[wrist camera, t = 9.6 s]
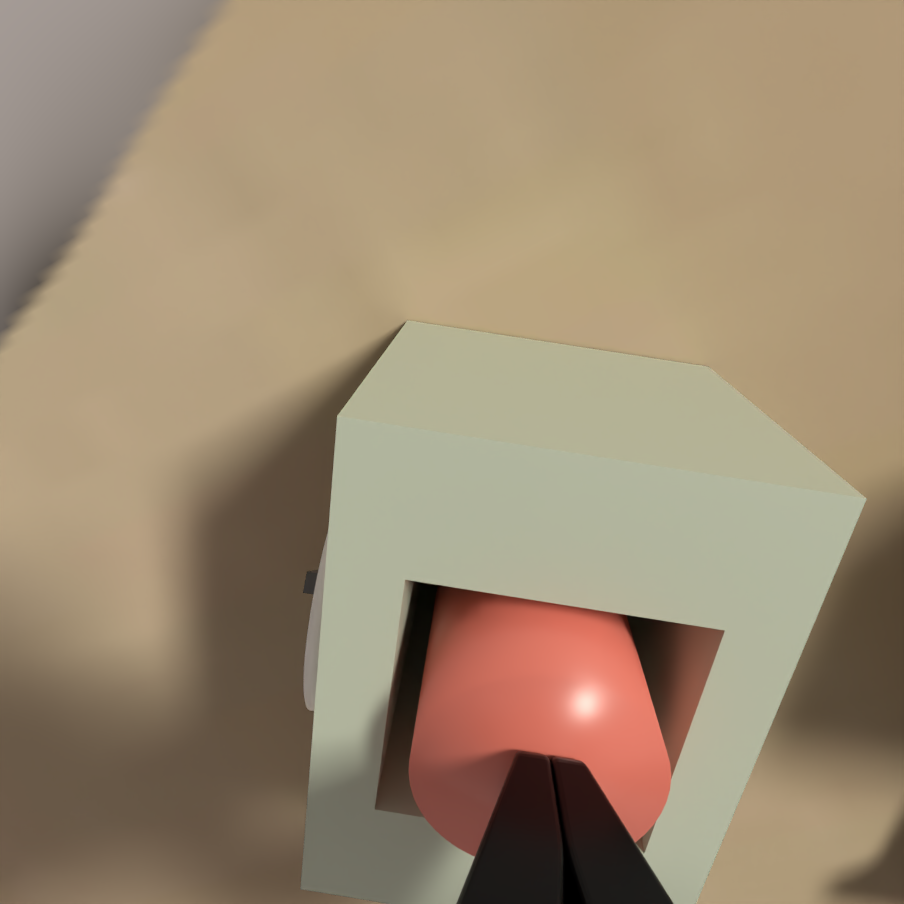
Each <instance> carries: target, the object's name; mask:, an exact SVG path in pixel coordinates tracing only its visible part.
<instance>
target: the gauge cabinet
mask: <svg viewBox="0 0 904 904" xmlns="http://www.w3.org/2000/svg"><path fill="white" fill-rule="evenodd" d="M866 499H867V498H865V497H864V496H863V495H862V494H861V493H859V492H858V491H857V490H856V489H855V488H853V487H852V486H851V485H850V484H849V483H847V482H846V481H845V480H844V479H843V478H841V477H840V476H839V475H838V474H837V473H835V472H834V471H833V470H832V469H831V468H829V467H828V466H827V465H826V464H825V463H823V462H822V461H821V460H820V459H819V458H817V457H816V456H815V455H814V454H813V453H811V452H810V451H809V450H808V449H807V448H805V447H804V446H803V445H802V444H801V443H799V442H798V441H797V440H796V439H795V438H793V437H792V436H791V435H790V434H789V433H787V432H786V431H785V430H784V429H783V428H781V427H780V426H779V425H778V424H777V423H775V422H774V421H773V420H772V419H771V418H769V417H768V416H767V415H766V414H765V413H763V412H762V411H761V410H760V409H759V408H757V407H756V406H755V405H754V404H753V403H751V402H750V401H749V400H748V399H747V398H745V397H744V396H743V395H742V394H741V393H739V392H738V391H737V390H736V389H735V388H733V387H732V386H731V385H730V384H729V383H727V382H726V381H725V380H724V379H723V378H721V377H720V376H719V375H718V374H717V373H715V372H714V371H713V370H712V369H711V368H709V367H708V366H701V365H695V364H688V363H682V362H675V361H669V360H662V359H656V358H649V357H643V356H636V355H630V354H623V353H617V352H610V351H604V350H597V349H591V348H584V347H578V346H571V345H565V344H558V343H552V342H545V341H539V340H532V339H526V338H519V337H513V336H506V335H500V334H493V333H487V332H480V331H474V330H467V329H461V328H454V327H448V326H441V325H435V324H428V323H422V322H415V321H409V320H407V322H406V323H405V325H404V326H403V327H402V329H401V330H400V331H399V333H398V334H397V335H396V337H395V338H394V340H393V341H392V342H391V344H390V345H389V346H388V348H387V349H386V350H385V352H384V353H383V354H382V356H381V357H380V359H379V360H378V361H377V363H376V364H375V365H374V367H373V368H372V369H371V371H370V372H369V374H368V375H367V376H366V378H365V379H364V380H363V382H362V383H361V384H360V386H359V387H358V388H357V390H356V391H355V393H354V394H353V395H352V397H351V398H350V399H349V401H348V402H347V403H346V405H345V406H344V408H343V409H342V410H341V412H340V413H339V414H338V416H337V425H336V438H335V451H334V464H333V476H332V489H331V502H330V515H329V528H328V533H327V536H326V540H325V544H324V548H323V552H322V556H321V561H320V565H319V569H318V570H313V571H308V572H307V574H306V580H305V585H304V591H303V593H308V594H314V595H313V600H312V606H311V612H310V619H309V625H308V632H307V641H306V650H305V661H304V699H305V704H306V707H307V709H308V710H310V711H314V721H313V734H312V747H311V760H310V772H309V785H308V798H307V811H306V824H305V837H304V850H303V863H302V875H301V888H300V889H302V890H308V891H314V892H320V893H326V894H332V895H338V896H344V897H351V898H357V899H363V900H369V901H375V902H381V903H387V904H456V903H457V901H458V898H459V896H460V893H461V890H462V888H463V885H464V883H465V880H466V878H467V875H468V873H469V870H470V868H471V865H472V863H473V860H474V858H475V857H474V856H472V855H470V854H468V853H466V852H464V851H462V850H461V849H459V848H457V847H456V846H454V845H453V844H451V843H450V842H449V841H447V840H446V839H445V838H443V837H442V836H441V835H440V834H439V833H438V832H437V831H436V830H435V829H434V828H433V827H432V826H431V825H430V824H429V823H428V821H427V820H426V819H425V817H424V816H423V814H422V813H421V811H420V810H419V808H418V806H417V804H416V802H415V799H414V797H413V794H412V790H411V787H410V781H409V759H410V753H411V746H412V740H413V734H414V728H415V722H416V715H417V709H418V703H419V697H420V691H421V685H422V678H423V672H424V666H425V660H426V654H427V647H428V641H429V635H430V629H431V623H432V616H433V610H434V604H435V598H436V592H437V586H434V585H428V584H421V582H423V583H429V584H435V585H442V586H448V587H454V588H461V589H467V590H473V591H480V592H486V593H492V594H498V595H505V596H511V597H517V598H524V599H530V600H536V601H542V602H549V603H555V604H561V605H568V606H574V607H580V608H587V609H593V610H599V611H605V612H612V613H618V614H624V615H626V616H627V619H628V622H629V626H630V629H631V632H632V636H633V639H634V642H635V646H636V649H637V653H638V656H639V659H640V663H641V666H642V669H643V673H644V676H645V679H646V683H647V686H648V689H649V693H650V696H651V700H652V703H653V706H654V710H655V713H656V716H657V720H658V723H659V726H660V730H661V733H662V737H663V740H664V743H665V747H666V750H667V754H668V757H669V761H670V767H671V785H670V791H669V795H668V799H667V802H666V804H665V806H664V809H663V811H662V813H661V815H660V816H659V818H658V819H657V821H656V822H655V824H654V825H653V826H652V827H651V828H650V829H649V830H648V831H647V833H646V834H645V835H644V836H642V837H641V838H640V839H639V840H638V841H636V842H635V843H636V845H637V846H638V848H639V849H640V851H641V853H642V854H643V856H644V857H645V859H646V860H647V862H648V864H649V865H650V867H651V868H652V870H653V872H654V873H655V875H656V876H657V878H658V880H659V881H660V883H661V884H662V886H663V887H664V889H665V891H666V892H667V894H668V895H669V897H670V899H671V900H672V902H673V903H674V904H696V902H697V900H698V898H699V895H700V893H701V891H702V888H703V886H704V883H705V881H706V879H707V876H708V874H709V872H710V869H711V867H712V864H713V862H714V860H715V857H716V855H717V853H718V850H719V848H720V845H721V843H722V841H723V838H724V836H725V834H726V831H727V829H728V827H729V824H730V822H731V819H732V817H733V815H734V812H735V810H736V808H737V805H738V803H739V800H740V798H741V796H742V793H743V791H744V789H745V786H746V784H747V781H748V779H749V777H750V774H751V772H752V770H753V767H754V765H755V762H756V760H757V758H758V755H759V753H760V751H761V748H762V746H763V743H764V741H765V739H766V736H767V734H768V732H769V729H770V727H771V725H772V722H773V720H774V717H775V715H776V713H777V710H778V708H779V706H780V703H781V701H782V698H783V696H784V694H785V691H786V689H787V687H788V684H789V682H790V679H791V677H792V675H793V672H794V670H795V668H796V665H797V663H798V660H799V658H800V656H801V653H802V651H803V649H804V646H805V644H806V642H807V639H808V637H809V634H810V632H811V630H812V627H813V625H814V623H815V620H816V618H817V615H818V613H819V611H820V608H821V606H822V604H823V601H824V599H825V596H826V594H827V592H828V589H829V587H830V585H831V582H832V580H833V577H834V575H835V573H836V570H837V568H838V566H839V563H840V561H841V558H842V556H843V554H844V551H845V549H846V547H847V544H848V542H849V540H850V537H851V535H852V532H853V530H854V528H855V525H856V523H857V521H858V518H859V516H860V513H861V511H862V509H863V506H864V504H865V502H866Z"/></svg>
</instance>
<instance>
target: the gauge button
mask: <svg viewBox="0 0 904 904" xmlns="http://www.w3.org/2000/svg"><path fill="white" fill-rule="evenodd" d="M519 751H525V752H532V753H538V754H544V755H546V756H547V757H548V758H549V759H551V758H553V757H562V758H569V759H575V760H580V761H582V762H584V763H585V764H586V765H587V767H588V768H589V770H590V771H591V773H592V775H593V776H594V778H595V779H596V781H597V783H598V784H599V786H600V787H601V789H602V790H603V792H604V794H605V795H606V797H607V798H608V800H609V802H610V803H611V805H612V806H613V808H614V810H615V811H616V813H617V814H618V816H619V818H620V819H621V821H622V822H623V824H624V825H625V827H626V829H627V830H628V832H629V833H630V835H631V837H632V838H633V840H634V841H635V842H636V841H638V840H639V839H640V838H641V837H642V836H644V835H645V834H646V833H647V831H648V830H649V829H650V828H651V827H652V826H653V825H654V824H655V822H656V821H657V819H658V818H659V816H660V815H661V813H662V811H663V809H664V806H665V804H666V802H667V799H668V795H669V791H670V785H671V767H670V761H669V757H668V754H667V750H666V747H665V743H664V740H663V737H662V733H661V730H660V726H659V723H658V720H657V716H656V713H655V710H654V706H653V703H652V700H651V696H650V693H649V689H648V686H647V683H646V679H645V676H644V673H643V669H642V666H641V663H640V659H639V656H638V653H637V649H636V646H635V642H634V639H633V636H632V632H631V629H630V626H629V622H628V619H627V616H626V615H624V614H618V613H612V612H605V611H599V610H593V609H587V608H580V607H574V606H568V605H561V604H555V603H549V602H542V601H536V600H530V599H524V598H517V597H511V596H505V595H498V594H492V593H486V592H480V591H473V590H467V589H461V588H454V587H448V586H442V585H438V586H437V592H436V598H435V604H434V610H433V616H432V623H431V629H430V635H429V641H428V647H427V654H426V660H425V666H424V672H423V678H422V685H421V691H420V697H419V703H418V709H417V715H416V722H415V728H414V734H413V740H412V746H411V753H410V759H409V781H410V787H411V790H412V794H413V797H414V799H415V802H416V804H417V806H418V808H419V810H420V811H421V813H422V814H423V816H424V817H425V819H426V820H427V821H428V823H429V824H430V825H431V826H432V827H433V828H434V829H435V830H436V831H437V832H438V833H439V834H440V835H441V836H442V837H443V838H445V839H446V840H447V841H449V842H450V843H451V844H453V845H454V846H456V847H457V848H459V849H461V850H462V851H464V852H466V853H468V854H470V855H472V856H474V857H475V855H476V853H477V850H478V848H479V845H480V842H481V840H482V837H483V835H484V832H485V830H486V827H487V825H488V822H489V820H490V817H491V815H492V812H493V810H494V807H495V805H496V802H497V799H498V797H499V794H500V792H501V789H502V787H503V784H504V782H505V779H506V777H507V774H508V772H509V769H510V767H511V764H512V762H513V759H514V757H515V755H516V753H517V752H519Z"/></svg>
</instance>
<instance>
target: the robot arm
mask: <svg viewBox="0 0 904 904" xmlns="http://www.w3.org/2000/svg"><path fill="white" fill-rule="evenodd" d="M456 904H674V903H673V902H672V900H671V899H670V897H669V895H668V894H667V892H666V891H665V889H664V887H663V886H662V884H661V883H660V881H659V880H658V878H657V876H656V875H655V873H654V872H653V870H652V868H651V867H650V865H649V864H648V862H647V860H646V859H645V857H644V856H643V854H642V853H641V851H640V849H639V848H638V846H637V845H636V843H635V841H634V840H633V838H632V837H631V835H630V833H629V832H628V830H627V829H626V827H625V825H624V824H623V822H622V821H621V819H620V818H619V816H618V814H617V813H616V811H615V810H614V808H613V806H612V805H611V803H610V802H609V800H608V798H607V797H606V795H605V794H604V792H603V790H602V789H601V787H600V786H599V784H598V783H597V781H596V779H595V778H594V776H593V775H592V773H591V771H590V770H589V768H588V767H587V765H586V764H585V763H584V762H582V761H580V760H575V759H569V758H562V757H553V758H551V759H549V758H548V757H547V756H546V755H544V754H538V753H532V752H525V751H519V752H517V753H516V755H515V757H514V759H513V762H512V764H511V767H510V769H509V772H508V774H507V777H506V779H505V782H504V784H503V787H502V789H501V792H500V794H499V797H498V799H497V802H496V805H495V807H494V810H493V812H492V815H491V817H490V820H489V822H488V825H487V827H486V830H485V832H484V835H483V837H482V840H481V842H480V845H479V848H478V850H477V853H476V855H475V858H474V860H473V863H472V865H471V868H470V870H469V873H468V875H467V878H466V880H465V883H464V885H463V888H462V890H461V893H460V896H459V898H458V901H457V903H456Z"/></svg>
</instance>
